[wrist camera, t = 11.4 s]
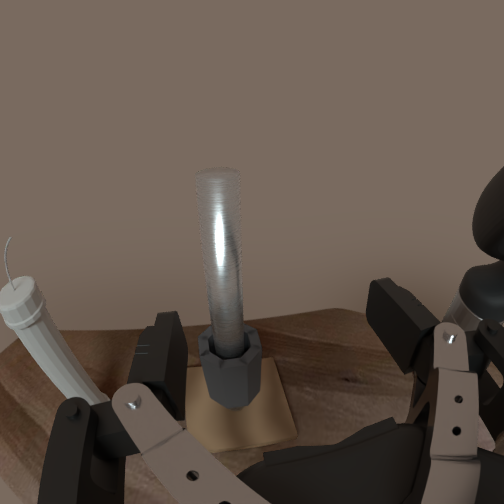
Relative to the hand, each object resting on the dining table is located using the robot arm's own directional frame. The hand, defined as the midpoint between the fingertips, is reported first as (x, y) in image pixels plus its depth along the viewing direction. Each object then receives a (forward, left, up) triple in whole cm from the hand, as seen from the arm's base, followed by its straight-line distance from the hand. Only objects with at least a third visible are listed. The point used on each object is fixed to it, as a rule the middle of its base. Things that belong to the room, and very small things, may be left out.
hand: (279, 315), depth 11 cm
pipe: (+20, -14, -29) cm, 38 cm away
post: (0, -11, -29) cm, 31 cm away
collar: (0, -11, -23) cm, 25 cm away
